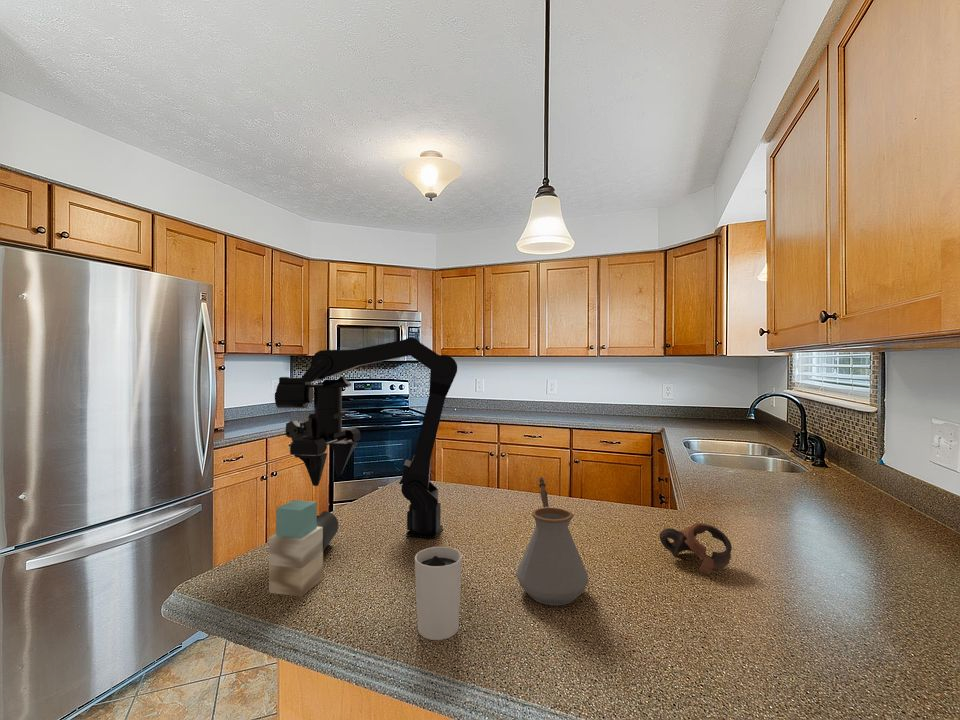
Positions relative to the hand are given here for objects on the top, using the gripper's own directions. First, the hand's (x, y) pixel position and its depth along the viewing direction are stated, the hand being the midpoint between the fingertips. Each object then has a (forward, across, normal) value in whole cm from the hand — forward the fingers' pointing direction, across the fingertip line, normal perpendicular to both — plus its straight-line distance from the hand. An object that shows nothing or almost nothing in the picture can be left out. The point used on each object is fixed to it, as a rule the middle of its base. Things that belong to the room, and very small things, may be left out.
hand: (327, 480), depth 96 cm
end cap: (+12, +9, +2) cm, 15 cm away
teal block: (+3, +21, +7) cm, 22 cm away
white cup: (+12, +27, +34) cm, 45 cm away
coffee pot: (+12, +9, +48) cm, 50 cm away
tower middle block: (+8, +21, +7) cm, 23 cm away
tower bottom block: (+12, +21, +7) cm, 25 cm away
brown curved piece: (+12, -3, +74) cm, 75 cm away
